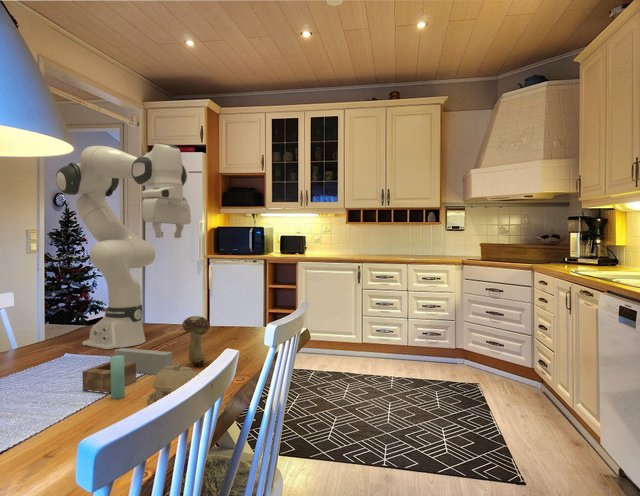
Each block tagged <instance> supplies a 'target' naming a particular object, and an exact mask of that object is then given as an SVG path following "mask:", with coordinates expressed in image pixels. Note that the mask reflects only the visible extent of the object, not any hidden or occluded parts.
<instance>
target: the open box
mask: <svg viewBox="0 0 640 496" xmlns="http://www.w3.org/2000/svg"><path fill="white" fill-rule="evenodd" d="M81 373H82V390H83V389H84V390H92V391H99V392H107V393H108V392H111V360H110V361H107V362H104V363H101V364H99V365H96V366H94V367H90V368H88V369H84V370H83V371H82V372H81ZM135 382H137V373H136V363H133V362H124V384H125V387H126V386H128V385H131V384H132V383H135Z"/></svg>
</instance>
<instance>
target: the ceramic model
mask: <svg viewBox="0 0 640 496" xmlns="http://www.w3.org/2000/svg"><path fill="white" fill-rule="evenodd" d="M196 375H199V374H198V373H197V372H195V371H194V370H193V369H192V367H189V366H182V364H181V363H180V362H175V363H174V364H172V366H165V367H164V368H163V369H162V370H161V371H160V372H158V373H157V375H155V377H154V379H153V382H152V389H153V390H154V391H152V393H149V394H148V395H147V397H146V404H147V406H148V405H150V404H152V403H154V402H156V401H157V400H159V399H161V398H163V397H164V396H166V395H168V394H170V393H171V392H173V391H175V390H176V389H178V388H179V387H181V386H182V385H184V384H185V383H187V382H188V381H190V380H191V379H192V378H194V377H195V376H196Z"/></svg>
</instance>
